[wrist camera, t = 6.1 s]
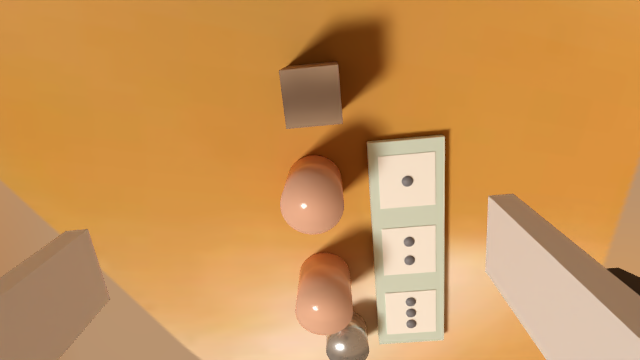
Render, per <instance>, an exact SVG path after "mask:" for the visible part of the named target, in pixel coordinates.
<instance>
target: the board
mask: <svg viewBox="0 0 640 360" xmlns="http://www.w3.org/2000/svg"><path fill="white" fill-rule="evenodd" d="M367 156H368V173H369V189H370V205H371V222H372V238H373V254H374V271H375V287H376V304H377V320H378V336H379V344H391V343H406V342H422V341H438V340H444V216H445V136H444V135H431V136H420V137H409V138H398V139H387V140H376V141H367Z"/></svg>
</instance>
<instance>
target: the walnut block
mask: <svg viewBox="0 0 640 360" xmlns="http://www.w3.org/2000/svg"><path fill="white" fill-rule="evenodd" d="M279 75H280V83H281V91H282V98H283V106H284V114H285V122H286V129H291V128H301V127H312V126H323V125H334V124H343V119H342V107H341V94H340V82H339V69H338V63H337V61H333V62H323V63H313V64H303V65H293V66H286V67H285V68H283V69H281V70H279Z"/></svg>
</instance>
